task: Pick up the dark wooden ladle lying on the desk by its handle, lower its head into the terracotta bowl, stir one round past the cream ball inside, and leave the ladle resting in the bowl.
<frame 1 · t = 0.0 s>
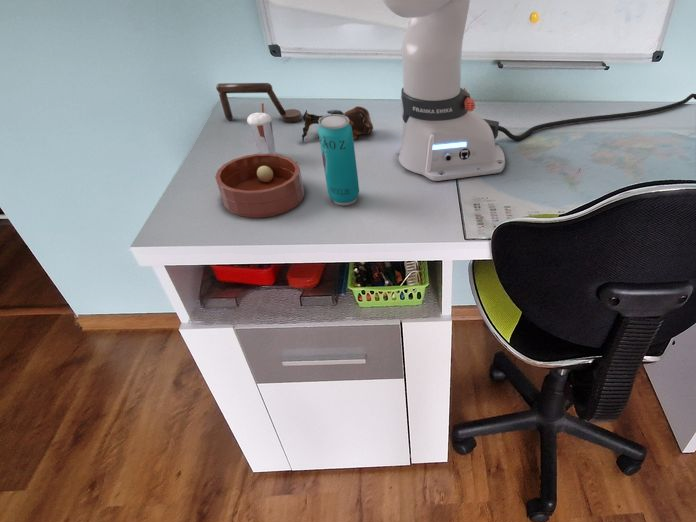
milkshake: (269, 158, 112), on the table
bowl: (264, 196, 101), on the table
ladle: (292, 118, 126), on the table
ball: (265, 174, 103), point 2 cm above the table, touching bowl
beverage can: (345, 200, 102), on the table
figurine: (338, 135, 121), on the table
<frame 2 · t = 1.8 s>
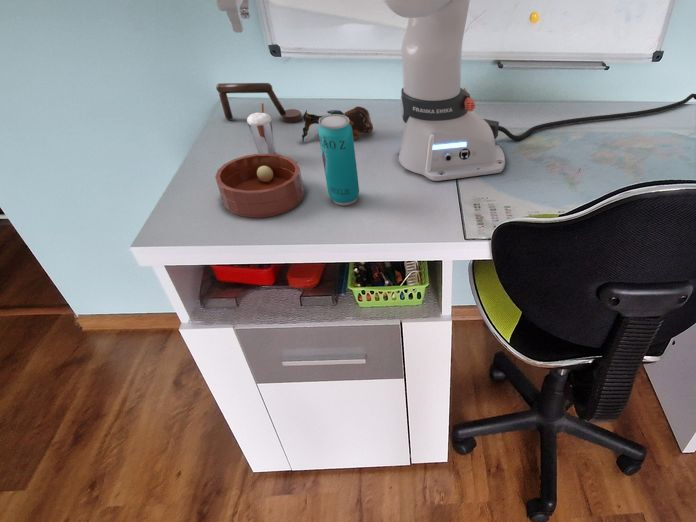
hand: (242, 24, 111), 20 cm above the table, tool pointing down, fingers open, 8 cm apart
nothing on the table moved.
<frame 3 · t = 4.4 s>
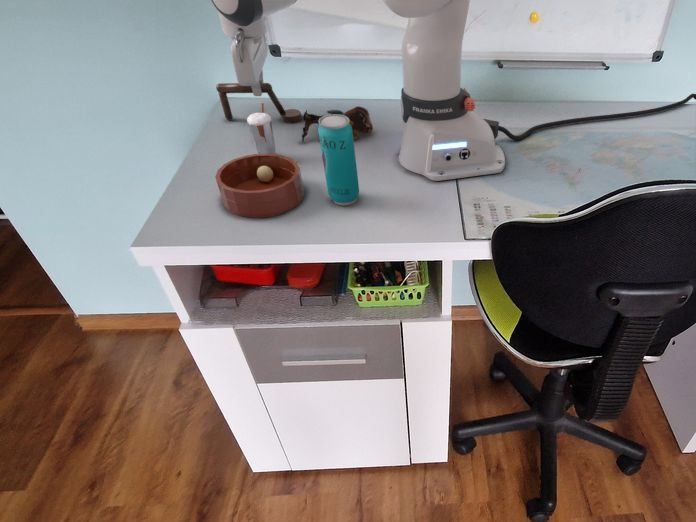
hand: (259, 92, 121), 6 cm above the table, tool pointing down, fingers closed on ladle, 2 cm apart
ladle: (292, 118, 126), on the table, touching gripper
everything else where it was.
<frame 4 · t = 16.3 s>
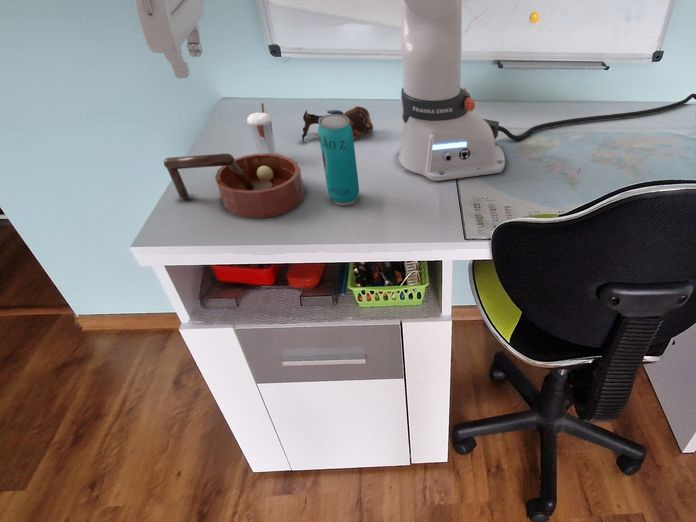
hand: (190, 65, 84), 23 cm above the table, tool pointing down, fingers open, 8 cm apart
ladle: (262, 193, 101), point 1 cm above the table, touching bowl
everything else where it was.
at the end: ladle inside the target area in the bowl (0.2 cm from its centre), point 0.7 cm above the bowl's base; the gripper is holding nothing; ball inside the target area in the bowl (4.8 cm from its centre), point 2.1 cm above the bowl's base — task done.
